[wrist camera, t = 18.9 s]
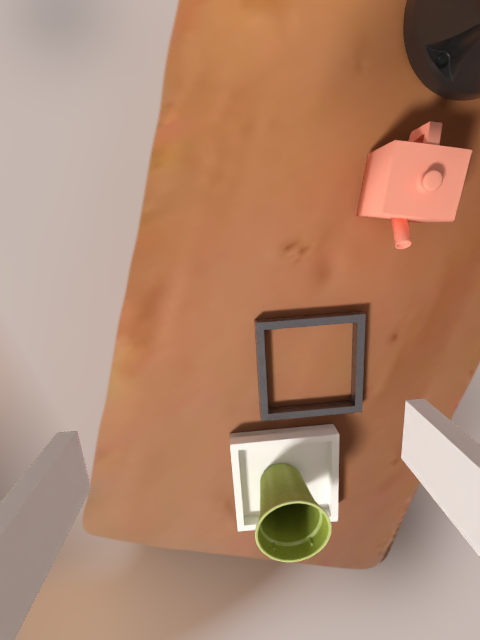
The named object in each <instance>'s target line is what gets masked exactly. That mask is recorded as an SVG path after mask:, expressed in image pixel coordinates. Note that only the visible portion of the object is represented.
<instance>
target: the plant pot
mask: <svg viewBox="0 0 480 640" xmlns="http://www.w3.org/2000/svg"><path fill="white" fill-rule="evenodd" d="M330 535H331V522H330V519H329V516H328V515H327V513H326V512H325V510H324V509H323V508H322V507H320V506H319V505H318V503H317V502H316V501H315V500H314V498H313V496H312V495H311V493H310V491H309V489H308V487H307V485H306V484H305V482H304V480H303V478H302V476H301V474H300V472H299V471H298V470H297V469H296V468H294V467H293V466H291V465H290V464H285V463H280V464H275V465H272V466H270V467H269V468H268V469H267V471H266V472H264V473H263V474H262V476H261V479H260V515H259V519H258V522H257V525H256V529H255V539H256V543H257V545H258V547H259V548H260V550H261V551H262V552H263V553H264V554H265V555H266V556H268V557H270V558H271V559H274V560H278V561H282V562H297V561H302V560H304V559H307V558H310V557H312V556H314V555H315V554H317V553H318V552H319V551H320V550H322V549H323V547H324V546H325V545H326V544H327V542H328V540H329V538H330Z"/></svg>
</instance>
